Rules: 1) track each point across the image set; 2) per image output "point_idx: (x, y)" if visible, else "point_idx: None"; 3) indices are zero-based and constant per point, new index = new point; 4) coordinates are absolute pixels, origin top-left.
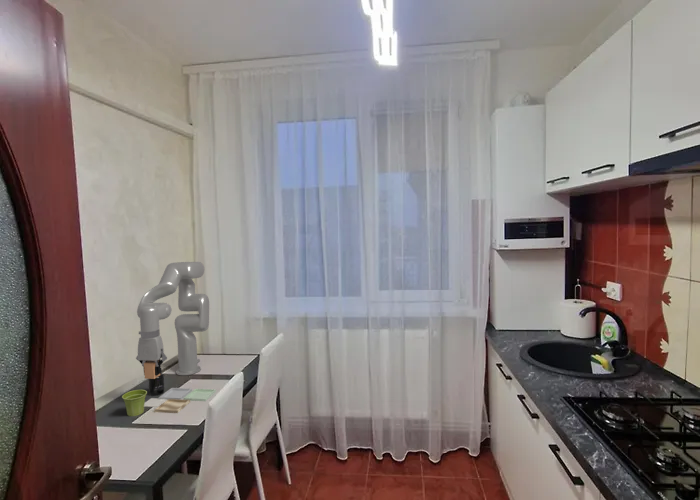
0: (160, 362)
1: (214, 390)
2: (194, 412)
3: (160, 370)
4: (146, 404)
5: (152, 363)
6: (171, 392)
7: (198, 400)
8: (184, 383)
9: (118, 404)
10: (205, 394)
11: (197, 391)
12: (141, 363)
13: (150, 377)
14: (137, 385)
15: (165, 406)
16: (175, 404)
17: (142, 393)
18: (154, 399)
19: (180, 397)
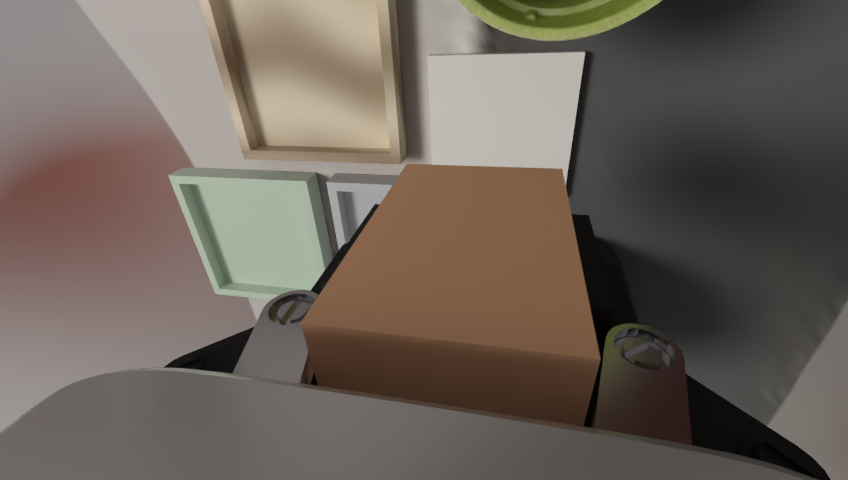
0: (192, 359)
1: (211, 281)
2: (128, 15)
3: None
4: (542, 86)
5: (328, 322)
6: None
7: (216, 172)
8: None
9: (843, 87)
10: (246, 252)
11: None
12: (723, 405)
13: (462, 174)
14: (786, 393)
15: (368, 70)
16: (318, 109)
17: (532, 14)
18: None
19: (332, 191)
